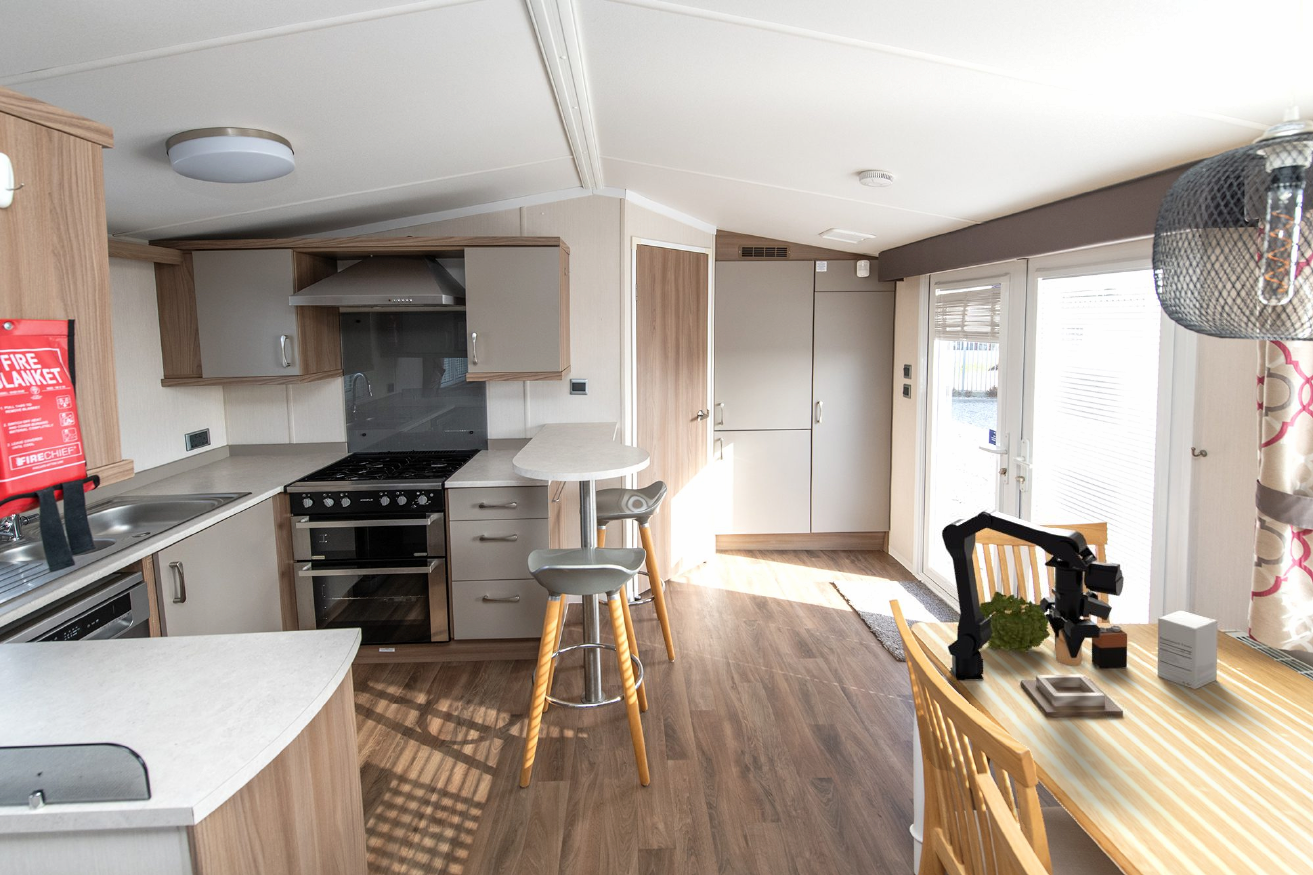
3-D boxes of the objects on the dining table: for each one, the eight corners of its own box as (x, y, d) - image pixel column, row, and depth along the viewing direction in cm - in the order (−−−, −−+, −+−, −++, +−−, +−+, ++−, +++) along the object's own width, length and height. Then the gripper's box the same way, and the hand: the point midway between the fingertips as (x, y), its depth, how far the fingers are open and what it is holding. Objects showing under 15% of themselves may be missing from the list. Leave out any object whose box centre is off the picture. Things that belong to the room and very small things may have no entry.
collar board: (1047, 717, 172) (1047, 701, 171) (1020, 684, 188) (1020, 670, 187) (1122, 716, 170) (1123, 700, 170) (1089, 683, 186) (1089, 669, 185)
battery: (1127, 668, 193) (1128, 630, 191) (1100, 669, 193) (1100, 631, 191) (1117, 660, 197) (1118, 623, 196) (1090, 662, 197) (1091, 624, 196)
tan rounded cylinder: (1061, 666, 174) (1061, 636, 173) (1052, 656, 180) (1052, 627, 179) (1085, 665, 174) (1085, 636, 173) (1075, 656, 179) (1076, 627, 178)
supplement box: (1178, 667, 191) (1179, 609, 189) (1217, 680, 183) (1219, 620, 181) (1155, 675, 188) (1156, 617, 186) (1194, 689, 180) (1196, 628, 178)
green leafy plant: (1031, 616, 217) (1062, 594, 204) (1031, 668, 209) (1063, 649, 196) (968, 597, 219) (995, 574, 205) (966, 648, 210) (993, 628, 197)
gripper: (1127, 600, 164) (1125, 669, 166) (1088, 573, 183) (1087, 636, 185) (1071, 601, 166) (1071, 670, 168) (1039, 574, 184) (1039, 636, 186)
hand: (1068, 652), depth 176 cm, fingers closed on tan rounded cylinder, 5 cm apart
